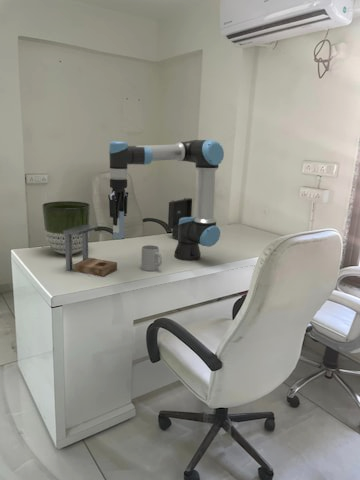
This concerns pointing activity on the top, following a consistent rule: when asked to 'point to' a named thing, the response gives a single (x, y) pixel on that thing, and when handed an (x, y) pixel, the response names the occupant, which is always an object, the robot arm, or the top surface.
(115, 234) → the peg
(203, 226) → the robot arm
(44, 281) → the top surface
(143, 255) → the mug
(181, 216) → the watch box
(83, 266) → the socket block
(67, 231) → the grey arch frame
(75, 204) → the planter
